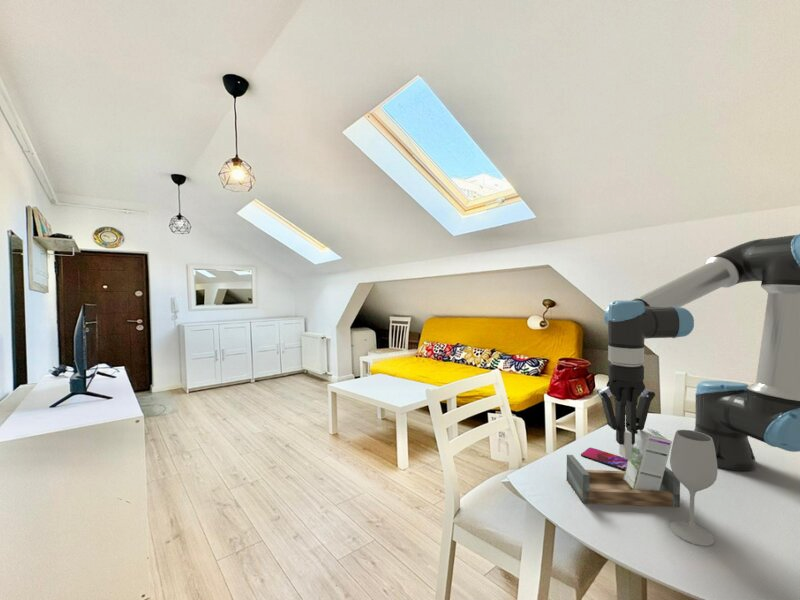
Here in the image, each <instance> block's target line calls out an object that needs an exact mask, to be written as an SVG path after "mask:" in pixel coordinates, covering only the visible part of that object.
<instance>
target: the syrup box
mask: <svg viewBox="0 0 800 600" xmlns="http://www.w3.org/2000/svg"><path fill="white" fill-rule="evenodd" d="M637 431H638V433H637V434H635V444H634V445H632V459H628V462H627V466H626V470H625V474H624V477H623V479H624V480H625V481H626V483H627V484H628V485H629V486H630V487H631V488H632V489H633V490H652V491H659V490H660V486H661V482H662V478H663V475H664V471H665V467H667V463H668V459H669V455H670V453H671V449H672V445H673V441H672V439H669V438H668V437H667V436H665V435H664V434H663V433H661V432H659V431H658V430H654V429H652V428H651V429H650V428H646V427H644V429H643V430H637Z"/></svg>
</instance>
